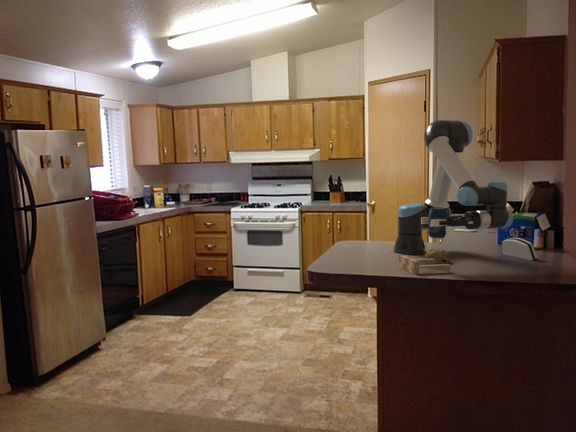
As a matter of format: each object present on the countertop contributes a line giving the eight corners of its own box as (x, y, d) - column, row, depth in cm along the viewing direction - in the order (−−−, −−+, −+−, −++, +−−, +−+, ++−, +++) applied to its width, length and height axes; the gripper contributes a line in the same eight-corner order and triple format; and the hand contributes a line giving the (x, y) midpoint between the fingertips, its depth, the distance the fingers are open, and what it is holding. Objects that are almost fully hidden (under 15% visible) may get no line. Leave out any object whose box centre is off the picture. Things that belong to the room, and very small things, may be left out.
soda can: (426, 237, 202) (427, 208, 200) (430, 235, 208) (431, 206, 206) (443, 239, 198) (444, 209, 197) (447, 236, 204) (448, 207, 203)
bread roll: (432, 272, 216) (439, 257, 212) (418, 258, 224) (424, 243, 220) (449, 269, 221) (456, 255, 217) (434, 256, 229) (440, 242, 225)
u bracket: (398, 267, 209) (398, 255, 208) (432, 265, 212) (432, 253, 212) (414, 274, 195) (414, 261, 195) (450, 272, 199) (450, 260, 198)
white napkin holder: (539, 259, 225) (535, 239, 223) (531, 263, 224) (527, 243, 222) (511, 253, 241) (506, 234, 239) (503, 257, 239) (499, 238, 237)
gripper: (491, 232, 197) (439, 234, 192) (462, 226, 217) (413, 227, 211) (492, 213, 197) (439, 215, 191) (462, 208, 216) (414, 210, 210)
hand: (426, 221), depth 201 cm, fingers closed on soda can, 7 cm apart
